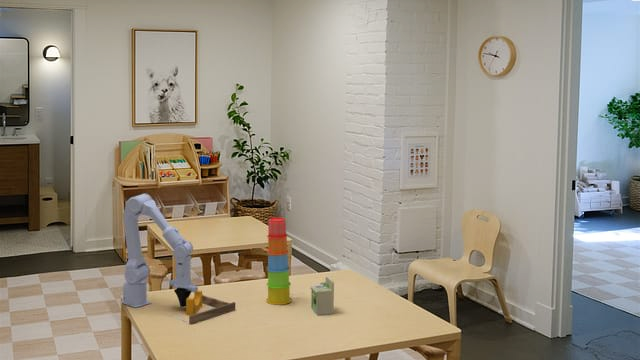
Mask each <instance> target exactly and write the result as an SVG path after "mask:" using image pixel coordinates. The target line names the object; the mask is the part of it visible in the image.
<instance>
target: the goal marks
mask: <svg viewBox="0 0 640 360" xmlns="http://www.w3.org/2000/svg"><path fill="white" fill-rule="evenodd" d="M205 307H206V308H209V309H213V308H214V307H213V306H210V305H205ZM172 318H175V319H178V320H181V321H183V322H188V320H187V319H184V318H181V317H178V316H176V315H172Z"/></svg>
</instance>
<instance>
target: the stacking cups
mask: <svg viewBox="0 0 640 360" xmlns="http://www.w3.org/2000/svg"><path fill="white" fill-rule="evenodd" d="M267 224H268V225H267V226H268V227H267V228H268V234H267V239H268V241H267V243H268V248H267V251H266V252H267V253H266V254H267V256H268V257H267V260H268V261H267V263H268V264H267V267H266V270H267V273H268V274H267V282H266V286H267V298H266V303H268V304H270V305H275V306H278V305H279V306H283V305H286V304H290V303H291V302H292V298H291V297H290V291H291V290H290V286H292V285H291V282H290V272H289V270H290V266H289V258H288V257H289V256H288V254H289V250H288V239H287V238H288V234H287V227H286V225H287V224H286V219H285V218H284V217H270V218H269V219H268V223H267Z"/></svg>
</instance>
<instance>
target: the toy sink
mask: <svg viewBox="0 0 640 360" xmlns="http://www.w3.org/2000/svg"><path fill="white" fill-rule="evenodd" d="M310 289H311V294H310V295H311V304H310V305H311V310H312V312H314V314H316V316H320V315H321V316H323V315H333V314H334V308H335V306H334V302H335V297H334V296H335V281H334V280H333V279H332V278H331V277H329V276H325V281H324V282H320V284H317V285H316V284H315V285H311V286H310Z"/></svg>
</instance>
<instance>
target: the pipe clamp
mask: <svg viewBox="0 0 640 360" xmlns="http://www.w3.org/2000/svg"><path fill="white" fill-rule="evenodd" d="M202 295H203V290H199V289H198V292H195V293H194V295H193V297H189V298H187V299H186V307H185V308H186V309H185V311H186V312H185V315H186V316H191V315H194V314H197V312H198V311H199V310H200V309H201V308H202V307H203V303H202Z"/></svg>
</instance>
